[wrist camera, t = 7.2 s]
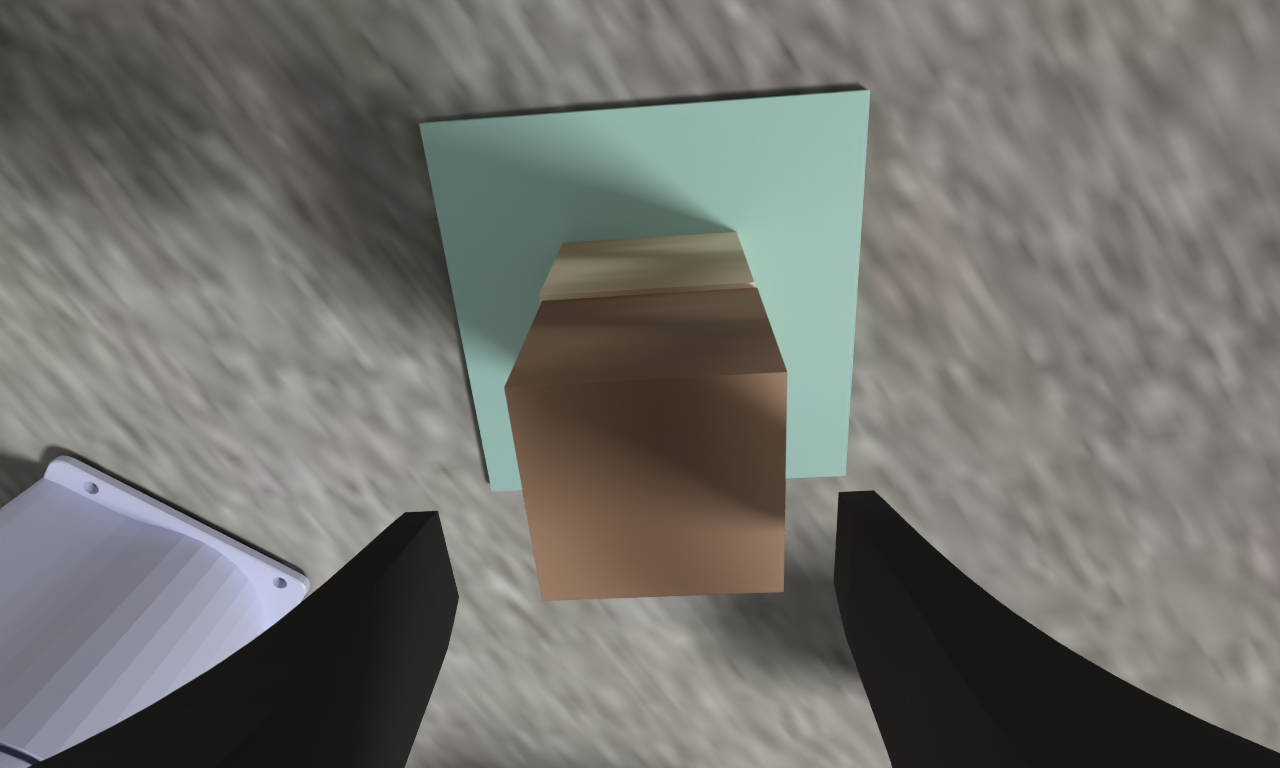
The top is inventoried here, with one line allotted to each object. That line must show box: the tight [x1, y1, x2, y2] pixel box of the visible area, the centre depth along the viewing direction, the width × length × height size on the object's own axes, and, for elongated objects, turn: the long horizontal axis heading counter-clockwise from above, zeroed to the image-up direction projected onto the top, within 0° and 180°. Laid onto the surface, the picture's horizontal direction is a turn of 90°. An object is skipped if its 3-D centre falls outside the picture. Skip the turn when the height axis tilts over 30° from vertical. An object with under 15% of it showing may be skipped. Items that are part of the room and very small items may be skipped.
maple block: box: [539, 232, 755, 304], centre depth 20 cm, size 5×5×4 cm
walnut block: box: [504, 287, 787, 601], centre depth 16 cm, size 5×5×4 cm
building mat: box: [419, 89, 870, 491], centre depth 22 cm, size 12×12×1 cm
